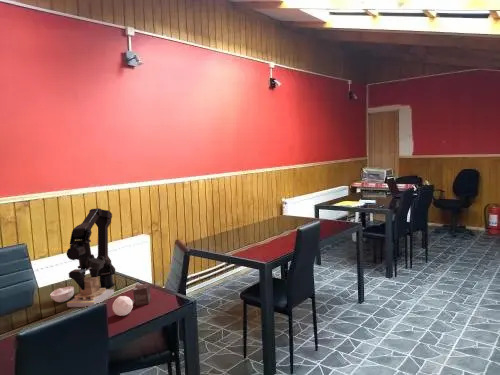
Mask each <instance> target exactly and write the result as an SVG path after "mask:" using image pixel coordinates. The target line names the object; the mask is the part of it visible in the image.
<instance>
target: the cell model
mask: <svg viewBox="0 0 500 375" xmlns="http://www.w3.org/2000/svg"><path fill="white" fill-rule="evenodd" d="M49 296H50V297H51V299H52V300H53V301H55V302H56V303H64V302H68V301H70V299H71V298H72V297H74V296H75V287H74V286H71V285H70V286H66V287H61V288H60V287H59V288H56V289H54V290H53V291H52V292H51V293H50V294H49Z"/></svg>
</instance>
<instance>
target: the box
mask: <svg viewBox="0 0 500 375" xmlns="http://www.w3.org/2000/svg"><path fill="white" fill-rule="evenodd" d="M150 288H151V287H150V284H149V283H144V284H136V285H135V286H134V288H133V289H132V292H133V298H134V299H133V300H134V305H135V306H143V305H149V304H150V302H151V301H152V294H151V289H150Z"/></svg>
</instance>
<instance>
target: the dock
mask: <svg viewBox="0 0 500 375" xmlns="http://www.w3.org/2000/svg"><path fill="white" fill-rule="evenodd" d="M105 291H106V292H104V293H103V294H101V295H100V296H98V297H97V298H95V299H94V300H91V297H89V298H88V299H86V300H83V297H82V298H81V299H79V300H76V299H75V297H74V298H72V299H71V300H68V301H66V306H67V308H85V307H86V306H90V305H93V304H96V303H99V304H101V303H103V301H105V300H106V299H108V298H109V297H111V296H113V295H114V294H115V289H111V288H106V290H105ZM100 302H101V303H100ZM86 308H87V307H86Z"/></svg>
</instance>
